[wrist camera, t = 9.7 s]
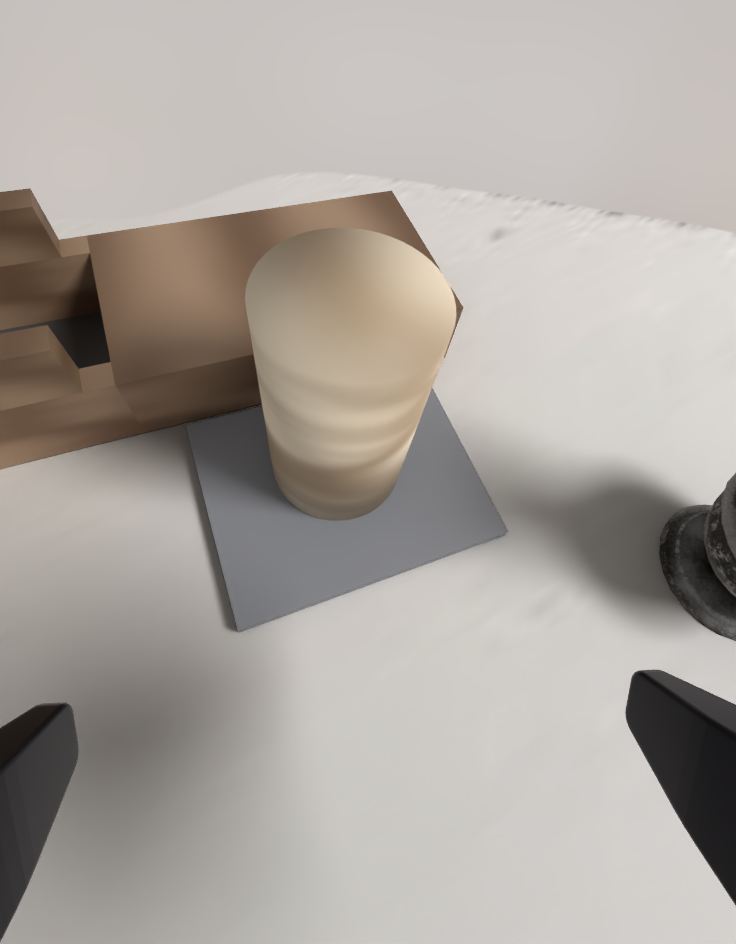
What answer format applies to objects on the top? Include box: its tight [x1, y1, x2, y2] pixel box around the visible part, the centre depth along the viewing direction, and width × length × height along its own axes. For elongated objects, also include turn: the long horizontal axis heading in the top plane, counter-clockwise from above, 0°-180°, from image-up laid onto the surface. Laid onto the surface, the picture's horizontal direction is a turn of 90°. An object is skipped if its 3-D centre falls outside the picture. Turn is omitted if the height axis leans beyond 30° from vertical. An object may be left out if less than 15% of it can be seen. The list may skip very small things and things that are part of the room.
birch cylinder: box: [245, 228, 456, 521], centre depth 14 cm, size 5×5×8 cm
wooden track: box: [0, 189, 463, 469], centre depth 17 cm, size 28×8×5 cm, turn 111°
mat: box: [185, 388, 508, 632], centre depth 18 cm, size 10×8×1 cm
